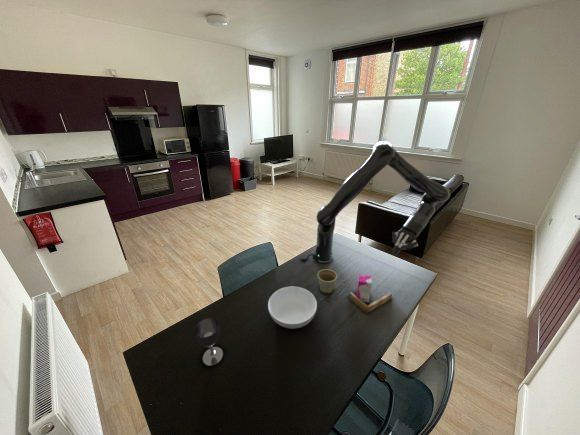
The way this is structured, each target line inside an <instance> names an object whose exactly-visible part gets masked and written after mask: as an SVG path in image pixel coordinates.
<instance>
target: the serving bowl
mask: <svg viewBox="0 0 580 435" xmlns="http://www.w3.org/2000/svg"><path fill="white" fill-rule="evenodd" d="M317 309H318V302H317V298H316V297H315V295H314V294H313V293H312V292H311V291H310V290H307V289H306V288H304V287H302V286H301V287H300V286H295V285H294V286H293V285H291V286H285V287H282V288H279V289H278V290H275V291H274V292H273V293H272V294H271V296H270V297H269V299H268V301H267V310H268V313H269V315H270V317H271V319H272V320H273V321H274V323H276V324H277V325H278V326H280V327H283V328H285V329H292V330H293V329H300V328H302V327H305V326H307V325H308V324H309V323H310V322H311V321H312V320H313V319H314V317H315V316H316V313H317Z"/></svg>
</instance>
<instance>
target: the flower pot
mask: <svg viewBox="0 0 580 435" xmlns="http://www.w3.org/2000/svg"><path fill="white" fill-rule="evenodd" d="M317 278H318V282H319V290H320V291H321V292H322V293H325V294H330V293H332V292H333V290H334V287H335V283H336V281H337V278H338V274H337V272H336V271H334V270H332V269H329V268H328V269H327V268H324V269H321V270H319V271H318V272H317Z"/></svg>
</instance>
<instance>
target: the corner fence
mask: <svg viewBox="0 0 580 435" xmlns="http://www.w3.org/2000/svg"><path fill="white" fill-rule="evenodd" d="M392 297H393V293H392V292H389V293H386V294H384V295H383V296H381V297H380V298H378V299H376V300H375V301H373V302H371V303H368V304H367V303H365V302H363V301H361V300H360V299H359V298H358V297H357V296H356V294H354V293H353V292H350V293H349V298H348V299H350V300H351V301H352V302H353V303H354V304H355V305H357V307H359V309H361V310H362V311H363V312H364V313H366V314H368V313H370V312H371V311H374V310H375V309H377V308H378V307H380V306H382V305H383V304H385V303H387V302H388V301H390V300H391V299H392Z"/></svg>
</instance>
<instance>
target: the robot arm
mask: <svg viewBox="0 0 580 435" xmlns="http://www.w3.org/2000/svg"><path fill="white" fill-rule="evenodd" d="M387 166H388V167H390V168H391V169H392V170H394V171H395V172H396V173H397V174H398V175H399V176H400V177H401V178H402V179H403V180H404V181H405V182H406V183H407V184H408V185H410V186H411V187H412V188H413V189H415V190H416V191H417V192H420V193H423V195H422V196H421V200H420V202H419V205H418V206H417V207H416V208H415V210H414V211H413V212H412V213H411V214H410V216H409V217H408V219H407V220H406V221H405V223H404V224H403V225H402V227H401V228H400V229H399V230H398V231H392V232H391V237H392V243H393V245H394V246H393V247H392V248H391V251H390V252H391V255H393V256H398V255H399V254H400V252H401V251H408V250H412V249H416V247H419V244H418V242H417V238H418V237H419V235H420V234H421V232H422V231H423V230H424V229H425V228H426V226H427V224H428V222H429V221H430V219H431V218H432V217H433V215H435V212H436V208H435V205H436V204H438V203H444V202H447V201H448V200H449V198H450V195H451V194H450V190H449V189H448V188H447V187H446V186H445V185H443V184H441V183H439V182H437V181H435V180H433V179H431V178H429V177H428V176H427V175H426V174H424V173H423V172H422V171H420V170H419V169H418V168H416V167H415V166H414V165H412V164H411V163H410V162H408V161H407V160H406V159H405V158H404V157H402V155H401V154H400V153H399V152H398V151H397V150H396V149H395V147H394V146H393V145H392V144H391V143H390V142H388V141H379V142H377V143H376V144H375V145H374V146H373V148H372V150H371V155H370V156H369V157H368V159H367V160H366V161H365V162H364V164H363V165H362V166H360V168H359V169H356V171H354V172H353V173H352V174H350V175H349V177H347V178H346V179H345V181H344V182H343V183H341V185H340V187H339V188H338V189H337V191H336V192H335V193H334V195H333V196H332V198H331V200H330V201H329V202H328V203H327V204H325V205H323V206H321V207H320V208H319V210H318V212H317V214H316V221H317V223H318V225H317V228H316V244H315V249H312V253H310V254H308V255H307V257H306V258H301V259H300V260H301V261H307V260H308V259H309V257H310V256H312V260H315V261H316V262H318V263H321V264H328V263H330V262H332V256H333V245H334V244H333V242H334V232H335V227H336V218H337V217H338V215H339V214H340V213H341V212H342V210H344V209H345V208H346V207H347V206H348V205H349V204H350V203H351V202H352V201H353V200H355V199H356V198H357V196H358V195H360V193H362V191H363V190H364V189H365V188H366V187H367V186H368V185H369V184H370V182H371V181H372V180H373V179H374V177H376V176H377V174H379V173H380V172H381V171H382V170H383V169H384V168H386V167H387Z"/></svg>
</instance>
